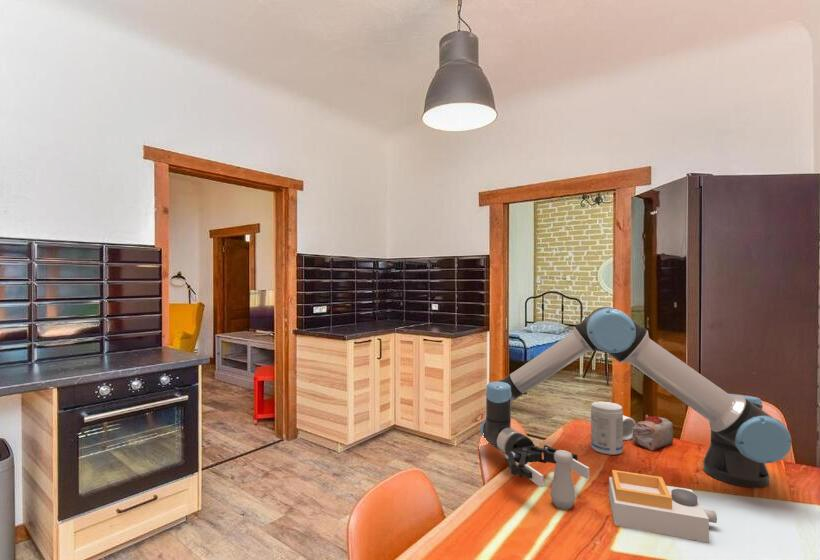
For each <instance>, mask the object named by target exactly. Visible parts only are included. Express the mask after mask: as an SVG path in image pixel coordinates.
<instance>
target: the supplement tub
mask: <svg viewBox="0 0 820 560" xmlns="http://www.w3.org/2000/svg"><path fill="white" fill-rule="evenodd" d="M623 415H624V412H623V406H622V405H620V404H619V403H614V402H610V401H593V402H592V403H591V407H590V446H591V448H592V450H593V451H595V452H598V453H600V454H604V455H610V456H611V455H612V456H614V455H615V456H616V455H620V454H622V453H623V451H624V440H623Z"/></svg>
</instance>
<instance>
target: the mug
mask: <svg viewBox="0 0 820 560" xmlns="http://www.w3.org/2000/svg"><path fill="white" fill-rule="evenodd" d="M636 424H637V422H636V421H635V420H634V418H632V417H629V416H626V415H624V414H623V441H625V440H627V441H631V440H633V439H632V438H633V429H632V428H634V426H635V425H636Z"/></svg>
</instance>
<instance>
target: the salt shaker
mask: <svg viewBox="0 0 820 560" xmlns="http://www.w3.org/2000/svg"><path fill="white" fill-rule="evenodd" d="M572 454H573V453H572ZM572 454H571V452H570V451H567V450H564V449H558V450H557V451H556V452H555V453H554V460H555V461H556V464H555V467H554V473H553V477H552V483H551V486H550V487H551V488H550V493H549V494H550V497H551V501H552V502H553V505H554V506H555V507H556V508H558V509H561V510H565V511H566V510H571V509H572V508H573V505H574V503H575V502H576V498H577V497H576V492H575V487H574V480H573V476H572V470H571V469H570V464H571V463H572V461H573V457H572Z"/></svg>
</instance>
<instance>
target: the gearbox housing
mask: <svg viewBox="0 0 820 560" xmlns="http://www.w3.org/2000/svg"><path fill="white" fill-rule="evenodd" d="M608 499H609V502H610V503H609V504H610V509H611V514H612V518H613V523H614V526H617V527H622V528H626V529H627V528H628V529H632V530H638V531H643V532H648V533H655V534H661V535H665V536H670V537H674V538H675V537H676V538H680V539H681V538H682V539H685V540H686V539H687V540H693V541H698V542H703V543H708V544H709V543H710V523H713V524H717V523H718V518H717V512H716V511H715V510H710V509H704V508H703V506H702V505H701V503H700V502H699V500H698V496H697V495H696V493H694V491H693V490H692V489H690V488H685V487H677V486H673V485H671V486H670V485H666V482H665V480H664V478H663V477H662V476H657V475H650V474H643V473H636V472H630V471H622V470H616V469H611V476H609V477H608Z"/></svg>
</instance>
